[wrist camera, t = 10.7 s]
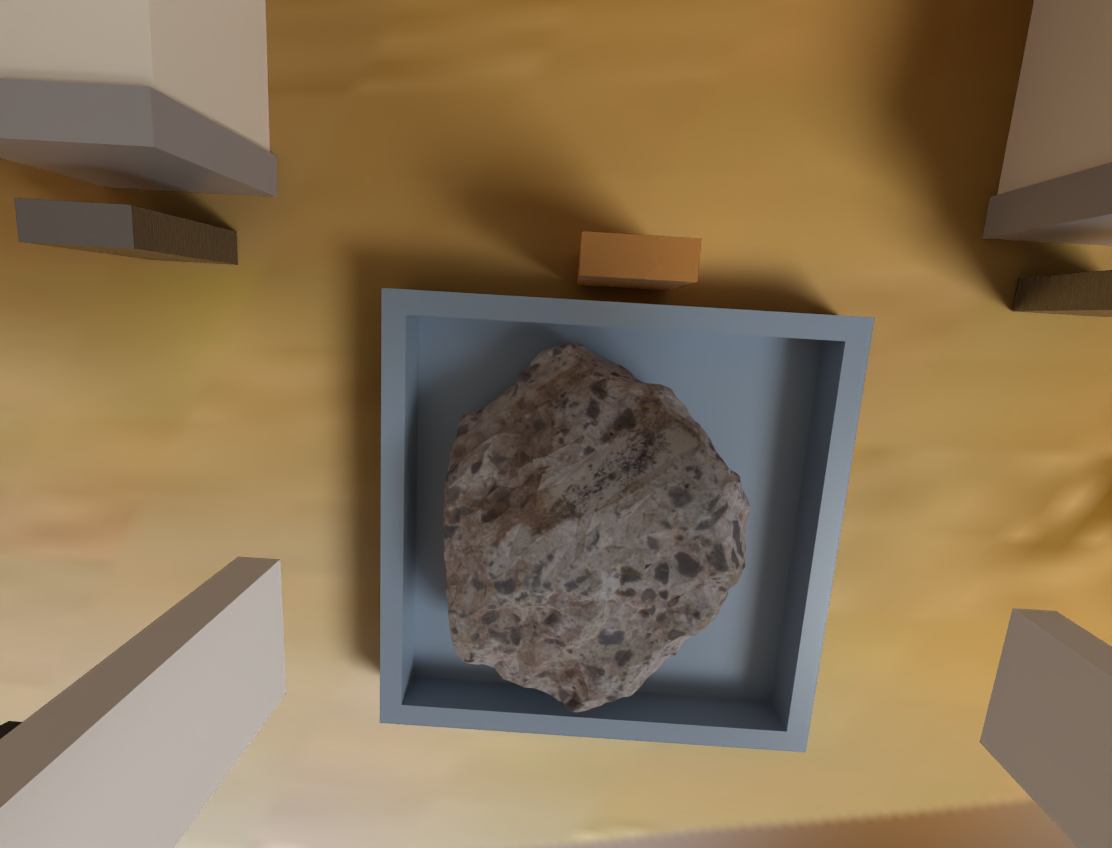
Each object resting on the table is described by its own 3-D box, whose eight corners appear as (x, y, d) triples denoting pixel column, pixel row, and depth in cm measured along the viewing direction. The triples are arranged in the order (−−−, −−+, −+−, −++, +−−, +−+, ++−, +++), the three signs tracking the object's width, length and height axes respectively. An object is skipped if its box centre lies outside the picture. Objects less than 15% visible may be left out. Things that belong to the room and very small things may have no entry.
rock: (474, 661, 20) (451, 747, 16) (454, 345, 18) (421, 353, 14) (733, 655, 20) (775, 741, 16) (740, 335, 18) (791, 341, 14)
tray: (401, 290, 18) (381, 287, 16) (841, 317, 18) (874, 317, 16) (397, 684, 21) (379, 722, 19) (783, 710, 21) (805, 752, 19)
